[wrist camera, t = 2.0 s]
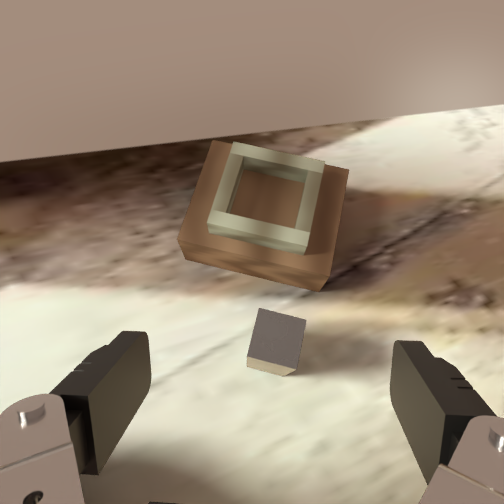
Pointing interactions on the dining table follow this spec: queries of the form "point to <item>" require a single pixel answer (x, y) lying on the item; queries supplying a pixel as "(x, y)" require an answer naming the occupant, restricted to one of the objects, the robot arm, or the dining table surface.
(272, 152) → the stand
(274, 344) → the peg
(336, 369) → the dining table surface
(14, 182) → the dining table surface
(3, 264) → the dining table surface
